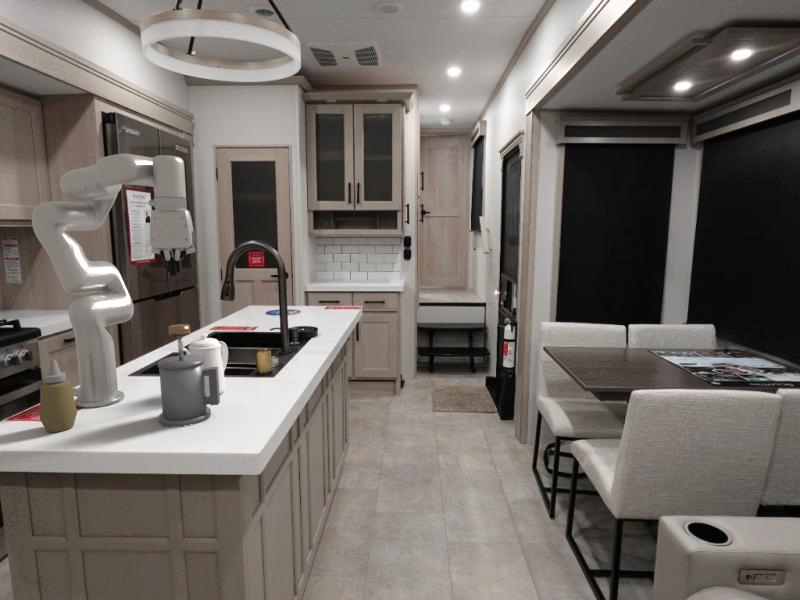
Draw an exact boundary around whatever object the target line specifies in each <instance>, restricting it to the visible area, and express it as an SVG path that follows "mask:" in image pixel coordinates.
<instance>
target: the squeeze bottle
mask: <svg viewBox="0 0 800 600" xmlns="http://www.w3.org/2000/svg"><path fill="white" fill-rule="evenodd" d="M43 381H44V383H42V384H41V385H40V389H39V392H40V394H39V396H40V397H39V421H40V422H41V424H42V426H43V427H44V430H45V431H46V432H48V433H57V432H64V431H67V430H69V429H72V427H74V425H75V421H76V419H77V414H78V410H77V405H76V404H75V400H76V399H75V396H74V395H73V391H72V388H73V387H72V382H71V381H70V380H68V379H67V374H66V372H64V371H61V369H60V367H59V365H58V362H57V360H56V359H51V360H50V362H49V369H48V373H46V374H44V375H43Z"/></svg>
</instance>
